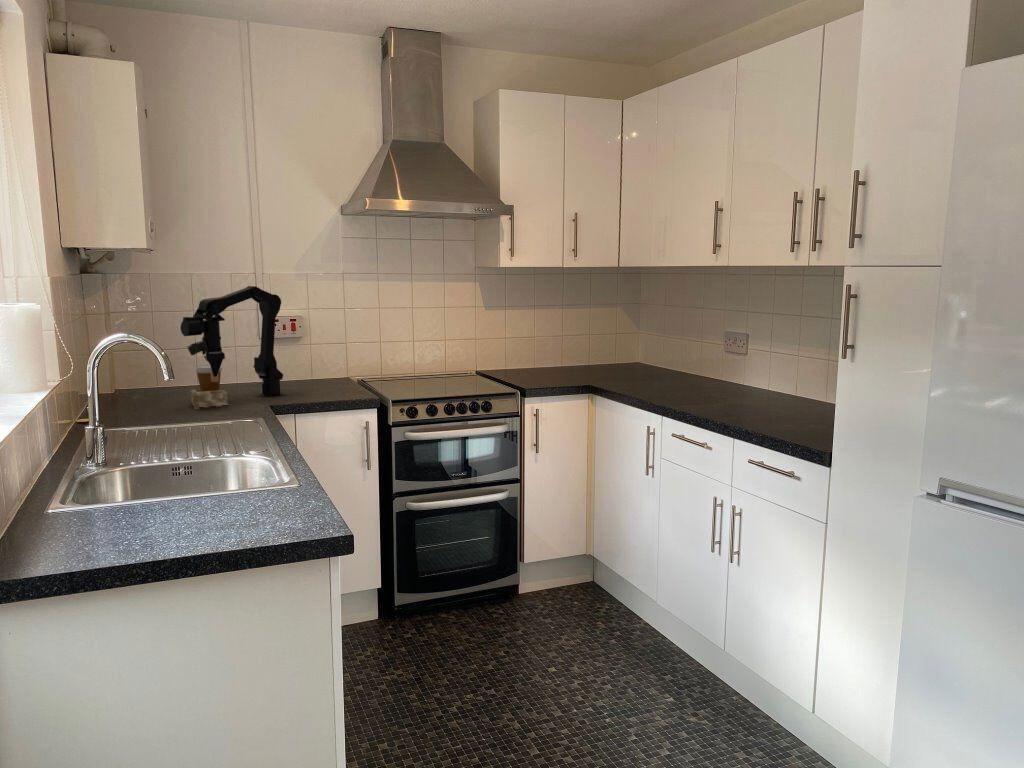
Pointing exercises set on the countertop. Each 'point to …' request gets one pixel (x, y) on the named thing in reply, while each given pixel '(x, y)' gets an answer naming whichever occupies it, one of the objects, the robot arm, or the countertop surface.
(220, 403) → the block
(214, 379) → the dowel
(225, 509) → the countertop surface
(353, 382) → the countertop surface
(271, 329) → the robot arm
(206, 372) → the disposable coffee cup
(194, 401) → the wall
